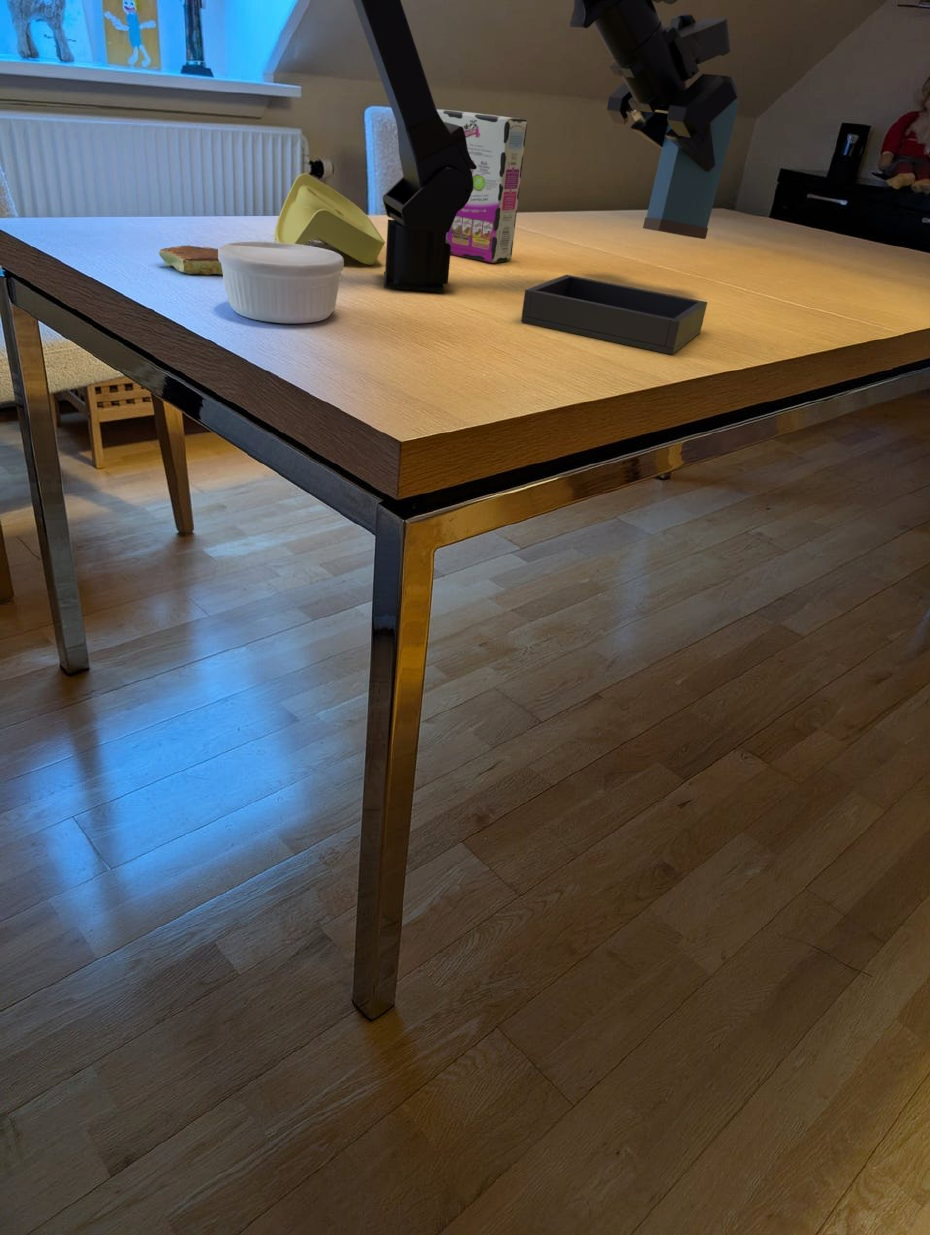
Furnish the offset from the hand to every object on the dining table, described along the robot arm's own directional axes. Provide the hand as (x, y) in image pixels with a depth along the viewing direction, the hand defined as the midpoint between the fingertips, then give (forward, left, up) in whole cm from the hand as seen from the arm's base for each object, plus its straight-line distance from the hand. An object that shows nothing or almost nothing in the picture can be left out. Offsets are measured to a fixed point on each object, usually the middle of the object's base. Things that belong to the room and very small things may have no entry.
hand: (700, 166), depth 101 cm
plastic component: (-42, +8, -14) cm, 45 cm away
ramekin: (-45, -24, -14) cm, 53 cm away
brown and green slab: (-53, -8, -14) cm, 56 cm away
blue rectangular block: (-2, -1, -7) cm, 8 cm away
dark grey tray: (-12, -20, -14) cm, 27 cm away
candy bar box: (-24, +14, -14) cm, 32 cm away
